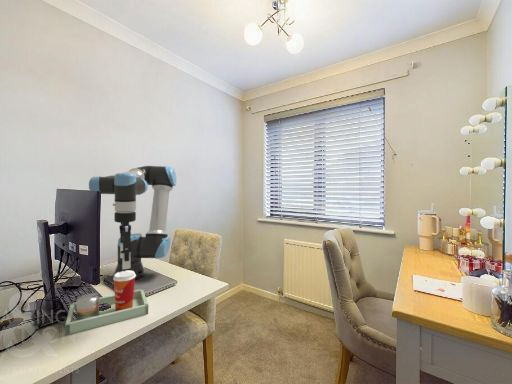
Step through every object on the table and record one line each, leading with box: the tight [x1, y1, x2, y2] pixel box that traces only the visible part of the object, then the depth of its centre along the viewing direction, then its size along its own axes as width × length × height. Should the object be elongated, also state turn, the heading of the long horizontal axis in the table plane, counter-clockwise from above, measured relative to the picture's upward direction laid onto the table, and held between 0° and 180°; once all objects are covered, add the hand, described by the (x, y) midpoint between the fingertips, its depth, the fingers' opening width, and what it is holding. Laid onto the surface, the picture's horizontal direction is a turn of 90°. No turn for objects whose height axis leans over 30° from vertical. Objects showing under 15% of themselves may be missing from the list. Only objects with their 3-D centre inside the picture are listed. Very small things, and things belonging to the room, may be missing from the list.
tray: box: [64, 288, 149, 336], centre depth 93 cm, size 16×26×4 cm, turn 123°
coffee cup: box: [112, 270, 136, 311], centre depth 95 cm, size 8×8×15 cm
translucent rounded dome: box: [76, 292, 100, 321], centre depth 89 cm, size 7×7×8 cm
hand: (125, 262), depth 95 cm, fingers open, 13 cm apart
